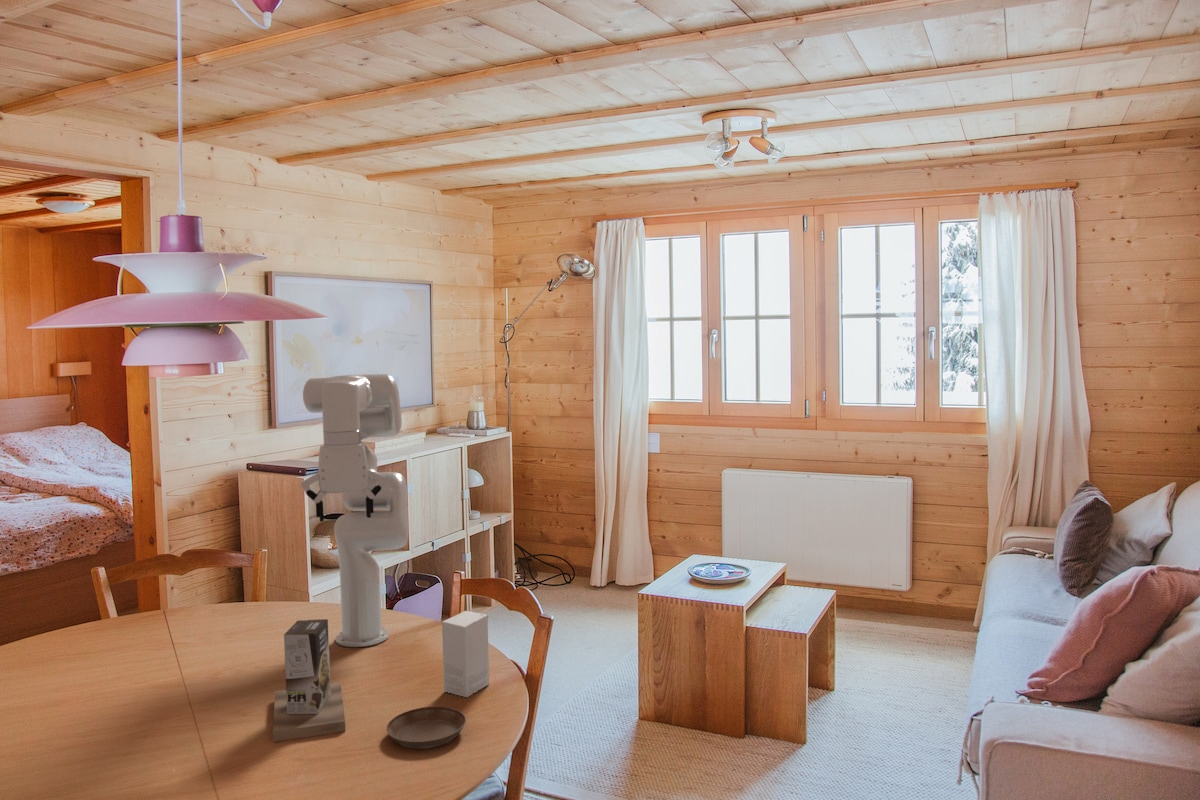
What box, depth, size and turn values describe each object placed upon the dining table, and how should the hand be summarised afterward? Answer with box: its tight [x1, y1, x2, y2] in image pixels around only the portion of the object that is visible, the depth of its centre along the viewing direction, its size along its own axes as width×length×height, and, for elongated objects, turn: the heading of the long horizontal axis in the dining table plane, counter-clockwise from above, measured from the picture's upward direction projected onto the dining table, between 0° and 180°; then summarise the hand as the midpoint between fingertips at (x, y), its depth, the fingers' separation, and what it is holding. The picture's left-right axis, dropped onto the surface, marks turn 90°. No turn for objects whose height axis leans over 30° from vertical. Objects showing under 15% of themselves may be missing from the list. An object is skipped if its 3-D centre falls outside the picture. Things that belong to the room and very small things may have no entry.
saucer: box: [386, 706, 467, 750], centre depth 171 cm, size 15×15×3 cm
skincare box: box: [441, 610, 490, 698], centre depth 192 cm, size 8×7×16 cm
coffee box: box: [283, 618, 331, 714], centre depth 180 cm, size 9×6×16 cm
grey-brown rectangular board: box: [272, 682, 346, 743], centre depth 180 cm, size 20×13×2 cm, turn 18°
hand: (345, 518), depth 193 cm, fingers open, 9 cm apart
